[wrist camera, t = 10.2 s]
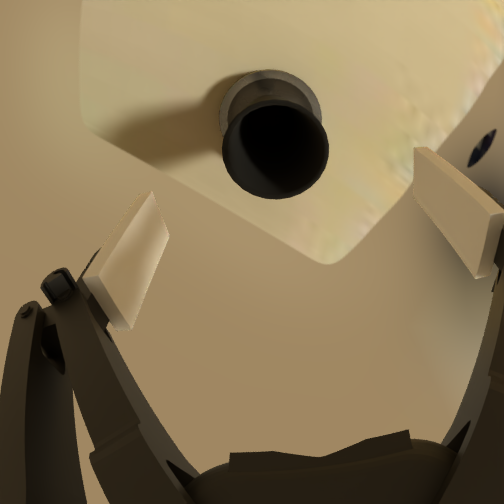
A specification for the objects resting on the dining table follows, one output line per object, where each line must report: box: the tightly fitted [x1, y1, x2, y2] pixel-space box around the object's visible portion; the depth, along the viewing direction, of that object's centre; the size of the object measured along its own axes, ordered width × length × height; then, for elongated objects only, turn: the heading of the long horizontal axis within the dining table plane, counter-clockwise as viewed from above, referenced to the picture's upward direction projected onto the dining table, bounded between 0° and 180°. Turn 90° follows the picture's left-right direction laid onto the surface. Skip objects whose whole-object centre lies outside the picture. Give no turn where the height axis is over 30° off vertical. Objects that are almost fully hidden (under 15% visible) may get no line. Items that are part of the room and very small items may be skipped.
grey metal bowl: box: [219, 69, 322, 137], centre depth 33 cm, size 11×11×3 cm
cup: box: [222, 95, 329, 199], centre depth 27 cm, size 8×8×12 cm
